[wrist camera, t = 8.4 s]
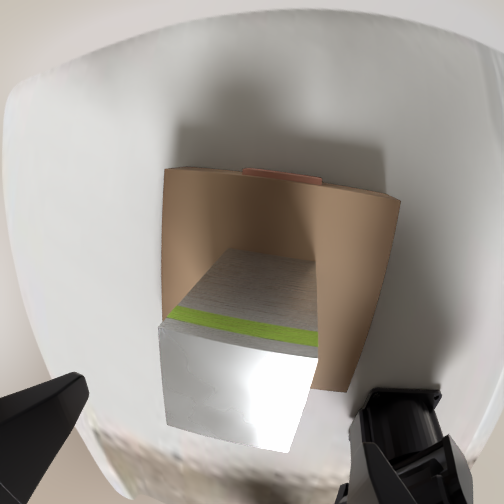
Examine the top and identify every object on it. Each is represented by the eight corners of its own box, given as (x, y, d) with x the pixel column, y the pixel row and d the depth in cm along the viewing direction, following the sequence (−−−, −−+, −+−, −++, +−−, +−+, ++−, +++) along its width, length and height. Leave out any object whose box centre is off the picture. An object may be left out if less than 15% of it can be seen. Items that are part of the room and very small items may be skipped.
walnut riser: (387, 188, 16) (401, 194, 13) (343, 364, 20) (346, 392, 17) (186, 161, 18) (165, 163, 15) (180, 335, 22) (164, 358, 19)
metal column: (316, 261, 15) (318, 359, 8) (300, 337, 17) (287, 452, 9) (227, 247, 16) (157, 326, 8) (221, 322, 17) (166, 424, 10)
